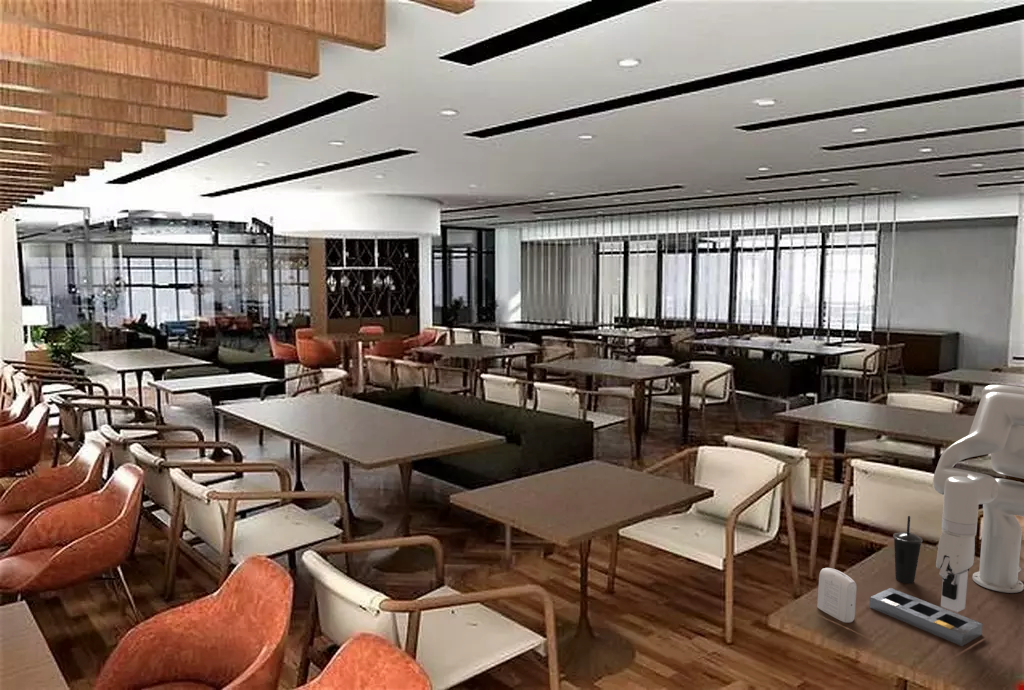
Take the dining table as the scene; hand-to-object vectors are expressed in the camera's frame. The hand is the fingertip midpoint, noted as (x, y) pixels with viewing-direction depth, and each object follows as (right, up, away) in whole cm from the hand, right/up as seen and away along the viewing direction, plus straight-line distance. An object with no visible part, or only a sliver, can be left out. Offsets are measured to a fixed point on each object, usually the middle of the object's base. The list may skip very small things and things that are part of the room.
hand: (953, 594), depth 186 cm
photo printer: (-25, -10, +11) cm, 29 cm away
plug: (0, -3, 0) cm, 3 cm away
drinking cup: (+4, -7, +31) cm, 32 cm away
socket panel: (-4, -10, +7) cm, 13 cm away
